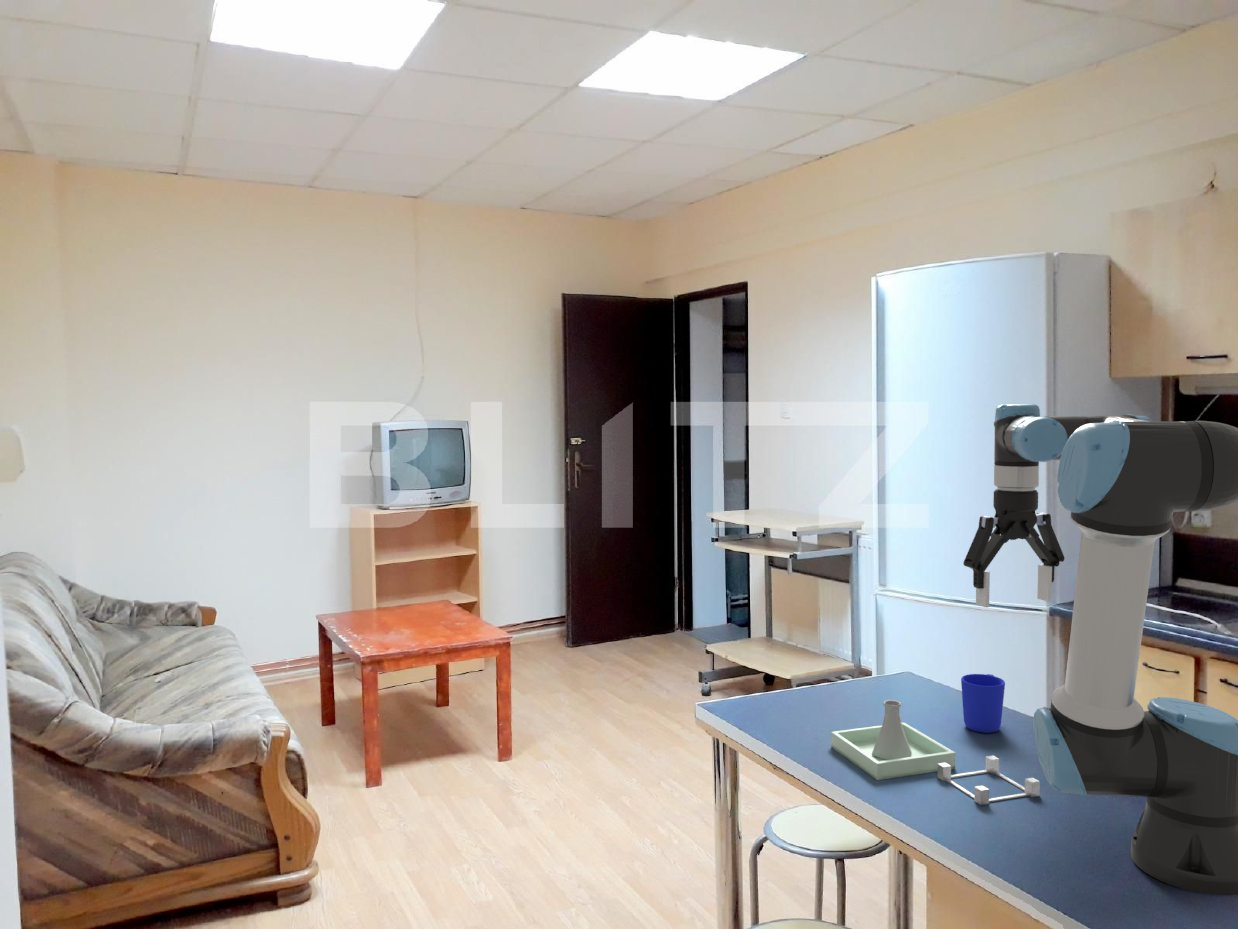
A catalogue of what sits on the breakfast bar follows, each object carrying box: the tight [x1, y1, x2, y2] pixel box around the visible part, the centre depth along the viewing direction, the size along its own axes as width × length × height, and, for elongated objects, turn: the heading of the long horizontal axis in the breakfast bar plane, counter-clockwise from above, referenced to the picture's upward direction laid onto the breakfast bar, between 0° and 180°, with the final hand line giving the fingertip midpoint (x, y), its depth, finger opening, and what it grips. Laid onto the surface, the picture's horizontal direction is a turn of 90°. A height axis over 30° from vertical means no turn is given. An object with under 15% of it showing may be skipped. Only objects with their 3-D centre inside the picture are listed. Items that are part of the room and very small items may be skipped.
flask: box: [872, 699, 912, 760], centre depth 170 cm, size 7×7×10 cm
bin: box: [830, 722, 956, 781], centre depth 170 cm, size 16×16×3 cm
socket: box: [937, 755, 1041, 806], centre depth 157 cm, size 12×12×2 cm
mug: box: [960, 673, 1006, 734], centre depth 186 cm, size 8×12×10 cm
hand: (1013, 603), depth 169 cm, fingers open, 13 cm apart
